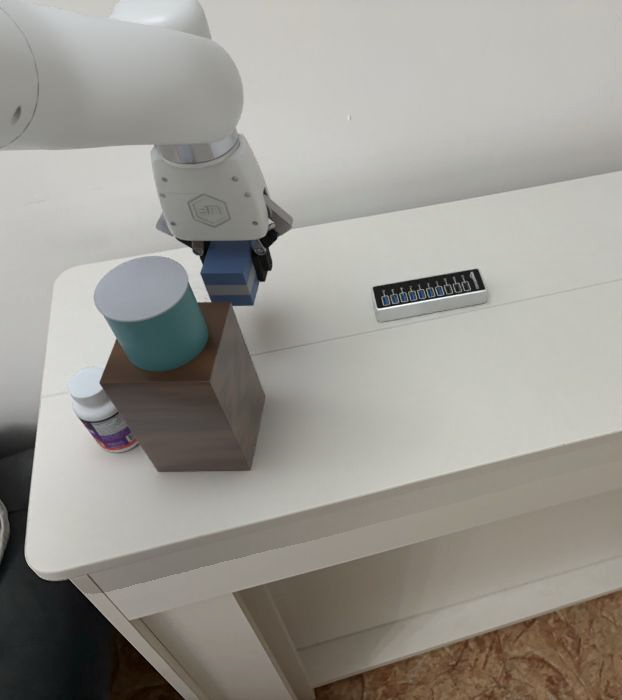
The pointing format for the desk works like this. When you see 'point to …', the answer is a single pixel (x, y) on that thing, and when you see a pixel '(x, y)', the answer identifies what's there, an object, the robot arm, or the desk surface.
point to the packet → (230, 273)
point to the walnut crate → (193, 401)
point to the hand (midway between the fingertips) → (241, 272)
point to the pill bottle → (99, 411)
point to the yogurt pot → (152, 312)
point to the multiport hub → (429, 294)
